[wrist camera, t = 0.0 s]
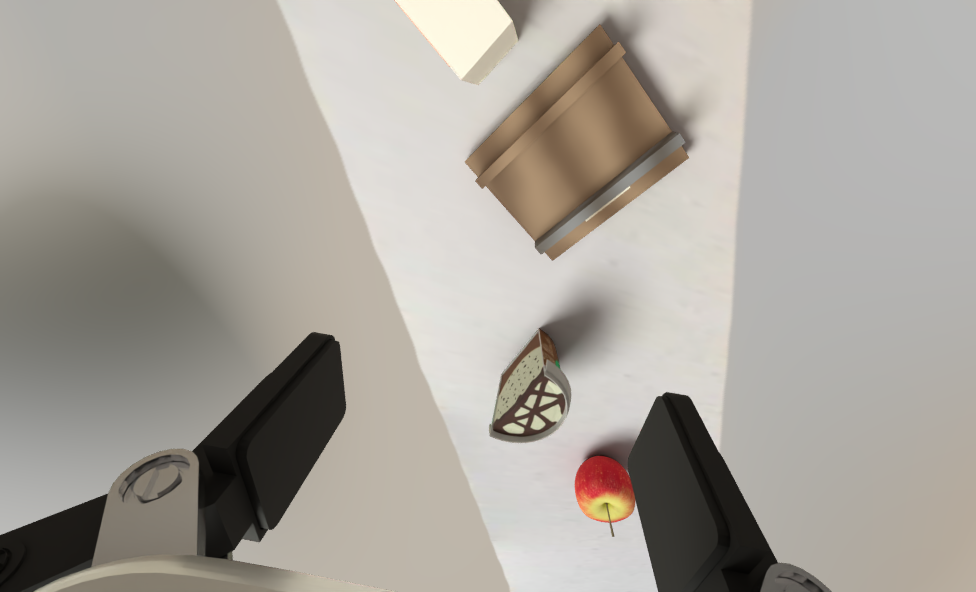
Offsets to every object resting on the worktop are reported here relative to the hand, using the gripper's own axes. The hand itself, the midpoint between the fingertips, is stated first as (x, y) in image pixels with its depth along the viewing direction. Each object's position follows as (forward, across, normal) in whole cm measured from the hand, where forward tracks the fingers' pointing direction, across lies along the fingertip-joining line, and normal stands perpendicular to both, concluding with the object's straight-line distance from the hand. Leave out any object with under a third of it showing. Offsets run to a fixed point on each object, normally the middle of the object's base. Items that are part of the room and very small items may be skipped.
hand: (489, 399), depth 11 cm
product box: (+31, +8, -14) cm, 35 cm away
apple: (+31, -19, +40) cm, 54 cm away
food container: (+31, -6, +23) cm, 39 cm away
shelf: (+31, -4, -4) cm, 32 cm away
